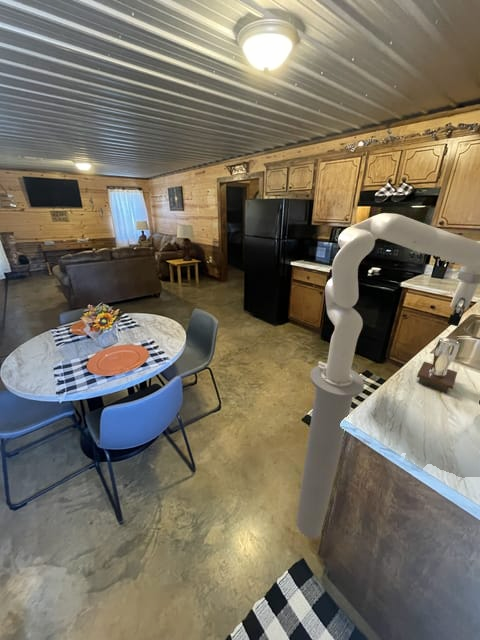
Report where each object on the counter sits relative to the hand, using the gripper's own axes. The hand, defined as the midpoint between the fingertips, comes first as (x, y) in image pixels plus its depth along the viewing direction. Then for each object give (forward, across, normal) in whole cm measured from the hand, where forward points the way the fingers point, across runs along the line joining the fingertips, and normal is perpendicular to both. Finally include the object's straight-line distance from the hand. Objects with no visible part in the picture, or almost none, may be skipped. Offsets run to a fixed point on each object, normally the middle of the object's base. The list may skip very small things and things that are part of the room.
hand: (454, 321), depth 100 cm
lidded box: (+28, 0, +1) cm, 28 cm away
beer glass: (+24, 0, +1) cm, 24 cm away
